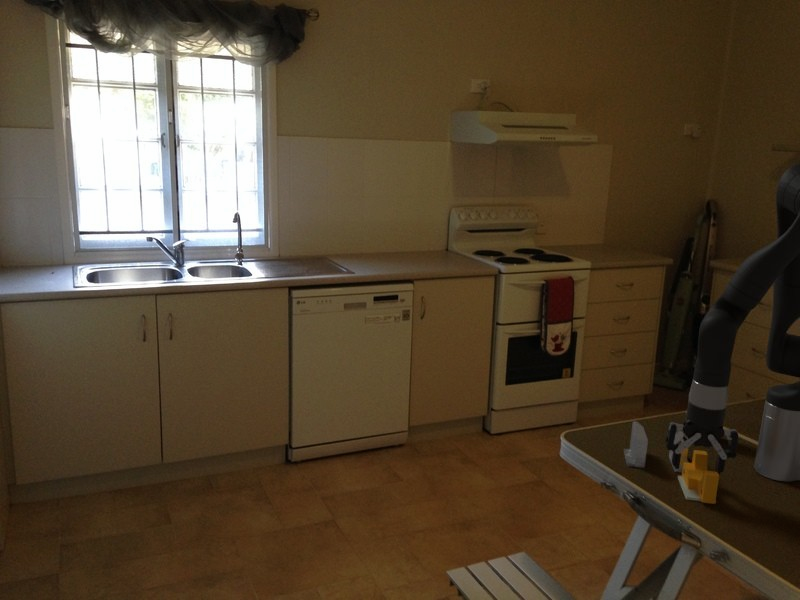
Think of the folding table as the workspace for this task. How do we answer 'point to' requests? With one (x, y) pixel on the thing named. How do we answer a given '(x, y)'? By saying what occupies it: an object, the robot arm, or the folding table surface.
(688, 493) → the pad
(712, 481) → the pipe clamp
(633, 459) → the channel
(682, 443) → the robot arm
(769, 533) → the folding table surface
